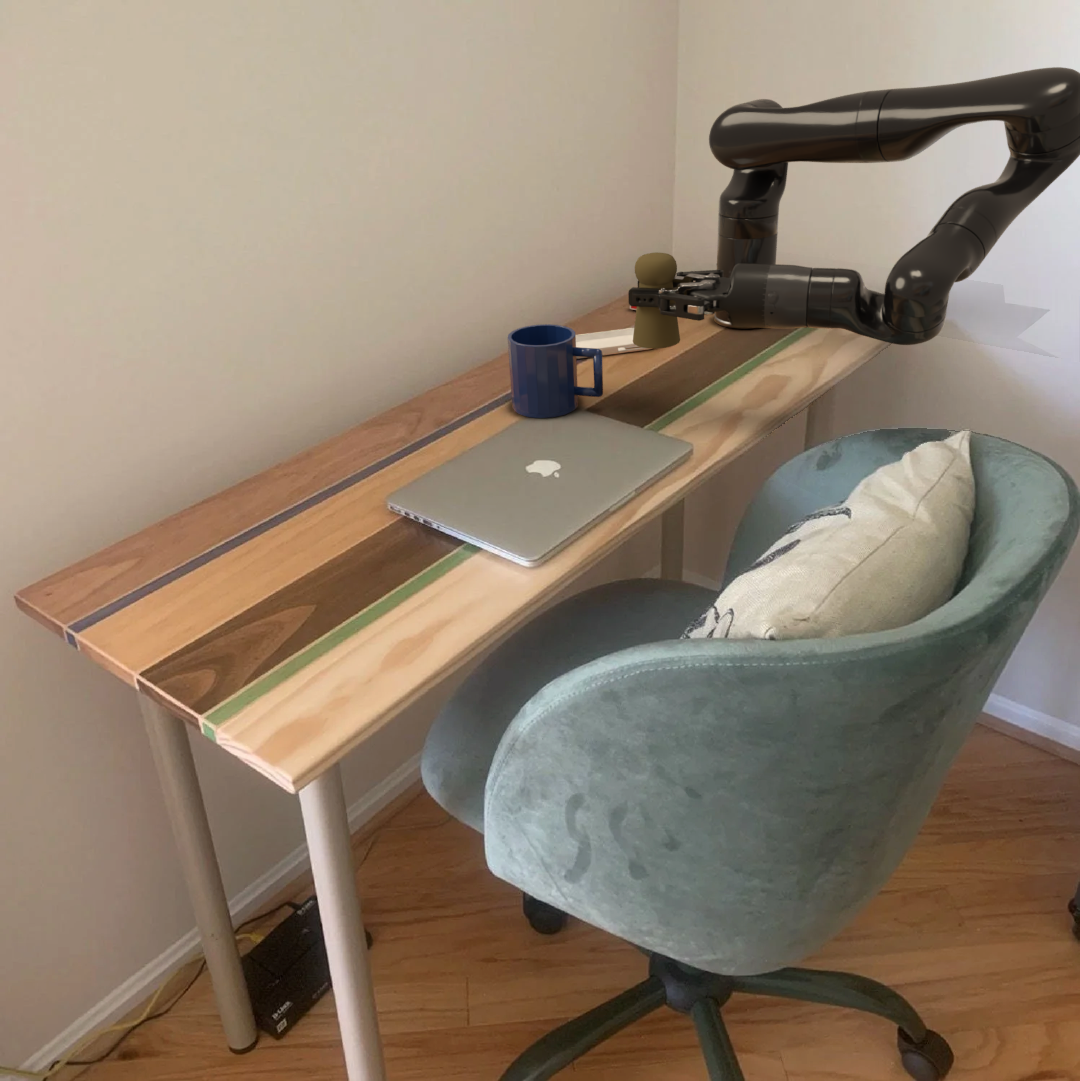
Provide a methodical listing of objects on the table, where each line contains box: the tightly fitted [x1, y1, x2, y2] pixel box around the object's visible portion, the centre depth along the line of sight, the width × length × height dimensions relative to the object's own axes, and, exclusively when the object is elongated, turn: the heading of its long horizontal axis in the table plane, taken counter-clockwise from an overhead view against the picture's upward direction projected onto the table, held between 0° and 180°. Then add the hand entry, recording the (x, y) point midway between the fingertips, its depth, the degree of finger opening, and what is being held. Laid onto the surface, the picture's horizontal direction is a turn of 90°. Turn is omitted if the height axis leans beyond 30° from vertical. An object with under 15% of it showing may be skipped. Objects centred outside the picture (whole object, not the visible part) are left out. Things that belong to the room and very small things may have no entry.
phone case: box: [576, 327, 654, 360], centre depth 161 cm, size 7×1×15 cm
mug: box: [507, 323, 604, 419], centre depth 139 cm, size 13×9×10 cm
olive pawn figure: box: [633, 252, 681, 350], centre depth 130 cm, size 6×6×11 cm
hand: (634, 291), depth 130 cm, fingers closed on olive pawn figure, 4 cm apart
